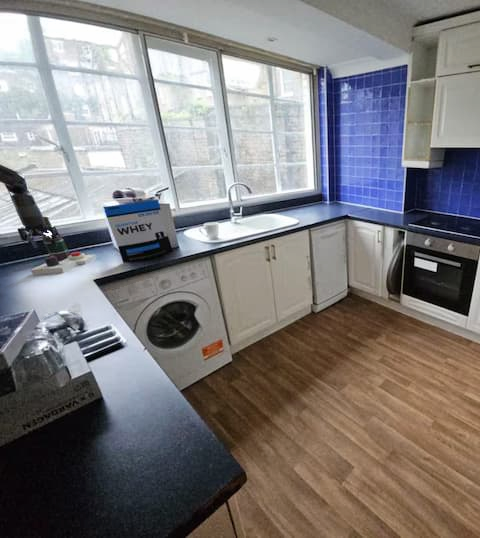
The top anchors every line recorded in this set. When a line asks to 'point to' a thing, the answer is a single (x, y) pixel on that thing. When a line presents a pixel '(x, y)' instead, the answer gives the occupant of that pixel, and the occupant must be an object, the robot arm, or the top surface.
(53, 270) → the control panel
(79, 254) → the power button
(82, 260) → the switch block
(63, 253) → the beer bottle
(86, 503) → the top surface
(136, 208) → the protein powder
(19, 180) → the robot arm
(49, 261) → the dial
